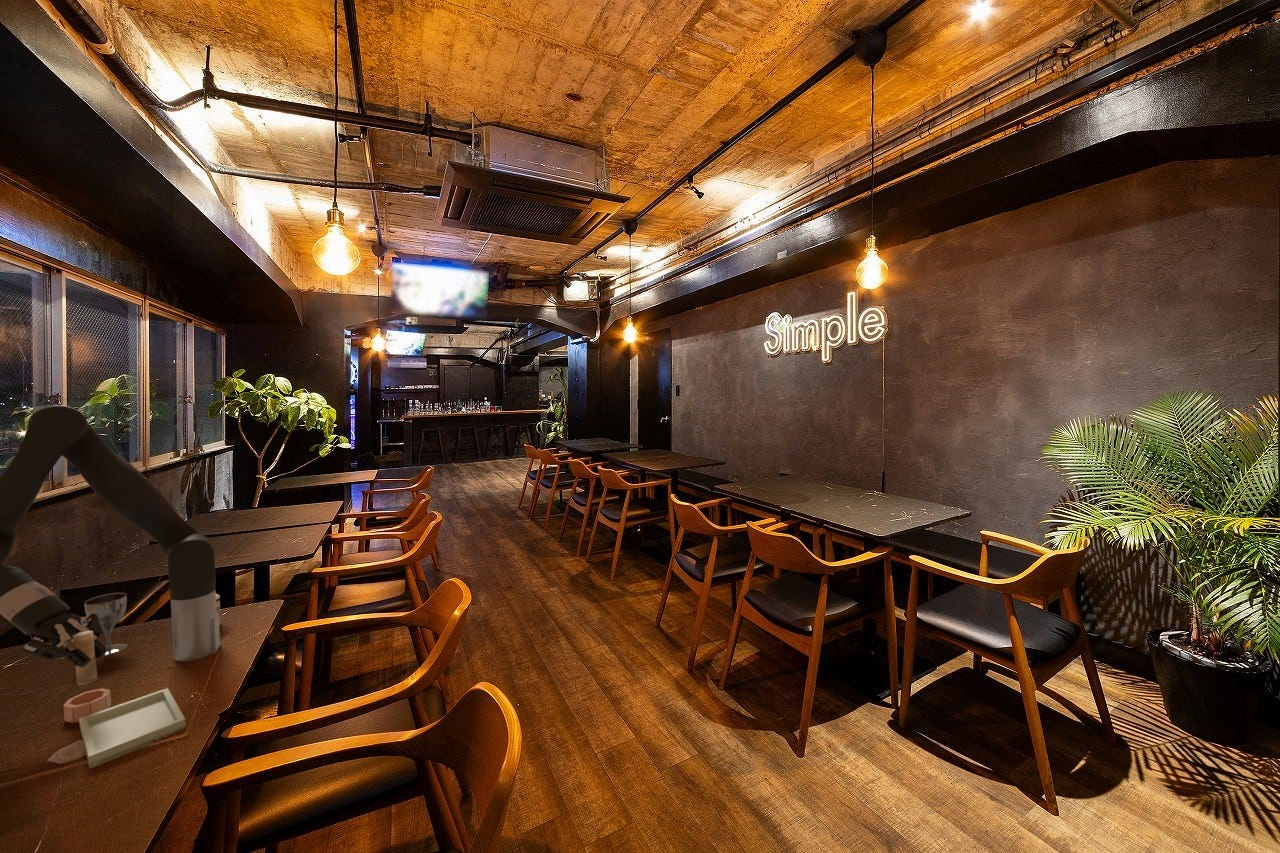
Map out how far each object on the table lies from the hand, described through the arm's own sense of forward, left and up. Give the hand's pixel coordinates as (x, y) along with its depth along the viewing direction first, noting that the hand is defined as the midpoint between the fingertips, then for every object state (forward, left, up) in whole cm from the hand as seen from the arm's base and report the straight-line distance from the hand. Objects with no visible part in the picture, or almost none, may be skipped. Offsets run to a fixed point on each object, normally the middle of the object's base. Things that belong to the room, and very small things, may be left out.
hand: (94, 659), depth 111 cm
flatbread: (-1, +14, -13) cm, 20 cm away
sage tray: (-8, +11, -13) cm, 19 cm away
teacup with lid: (-11, -42, -13) cm, 45 cm away
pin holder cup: (+2, -1, -13) cm, 13 cm away
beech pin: (+2, -1, -5) cm, 5 cm away
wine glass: (+8, -37, -13) cm, 40 cm away
